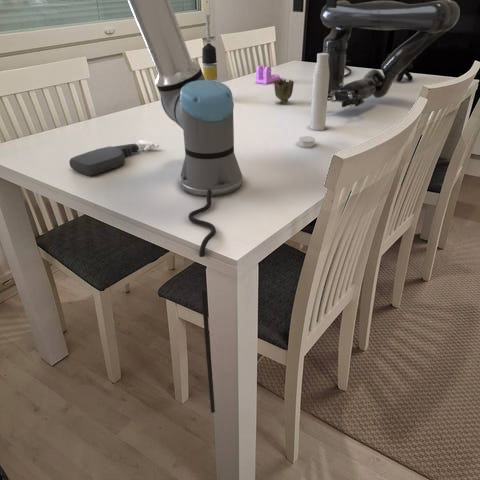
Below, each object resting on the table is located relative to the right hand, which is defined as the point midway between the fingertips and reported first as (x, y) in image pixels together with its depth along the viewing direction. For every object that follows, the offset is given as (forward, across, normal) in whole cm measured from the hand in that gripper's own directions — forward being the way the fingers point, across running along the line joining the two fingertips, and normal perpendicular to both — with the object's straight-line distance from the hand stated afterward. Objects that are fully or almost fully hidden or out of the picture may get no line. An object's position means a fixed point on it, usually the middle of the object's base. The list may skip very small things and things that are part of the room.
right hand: (331, 102), depth 148 cm
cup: (-9, -26, +6) cm, 28 cm away
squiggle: (-71, -7, +6) cm, 72 cm away
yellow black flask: (+3, -53, +6) cm, 53 cm away
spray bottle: (+67, -28, +6) cm, 73 cm away
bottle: (+9, +1, +6) cm, 11 cm away
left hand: (+24, +7, -29) cm, 38 cm away
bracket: (-36, -53, +6) cm, 64 cm away
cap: (+24, +6, +5) cm, 25 cm away
